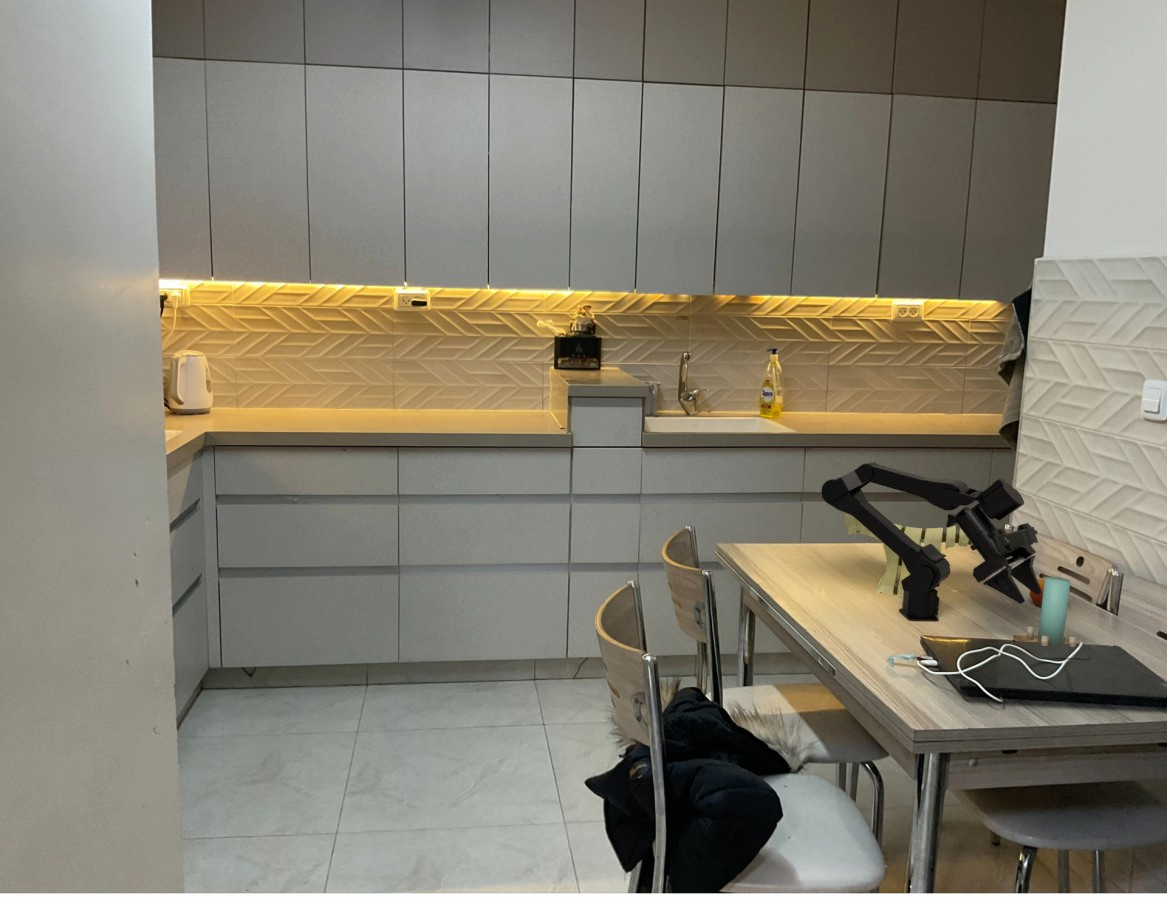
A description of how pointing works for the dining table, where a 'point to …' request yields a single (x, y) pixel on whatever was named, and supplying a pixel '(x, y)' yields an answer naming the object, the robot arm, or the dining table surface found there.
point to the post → (1054, 610)
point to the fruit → (1038, 598)
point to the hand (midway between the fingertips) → (1031, 598)
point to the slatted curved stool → (916, 534)
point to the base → (1044, 642)
